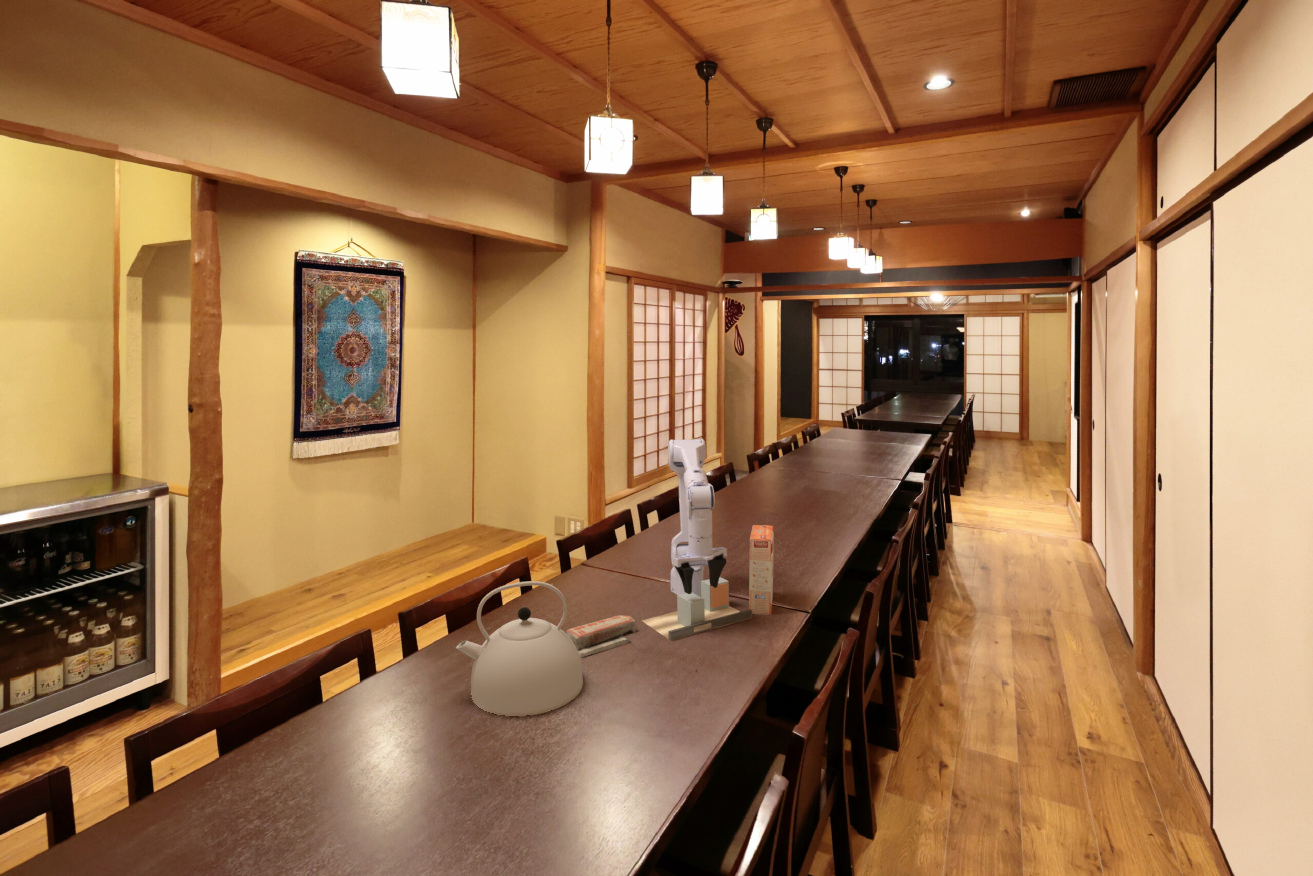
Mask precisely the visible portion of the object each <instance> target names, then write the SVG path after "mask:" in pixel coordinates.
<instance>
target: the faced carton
mask: <svg viewBox="0 0 1313 876" xmlns="http://www.w3.org/2000/svg"><path fill="white" fill-rule="evenodd" d="M729 584H730V581H729V580H727V579H725V578H723V577H721V576H720V578H719V581H718V586H717V587H716V588H714V587H712V586H710V579H703V581H701V598H703V599H704V605H705V609H706V610H708V611H710V612H711V611H715V610H719V609H723V608H727V607H729V606H730V585H729Z"/></svg>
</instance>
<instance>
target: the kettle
mask: <svg viewBox="0 0 1313 876" xmlns="http://www.w3.org/2000/svg"><path fill="white" fill-rule="evenodd" d="M526 586H539V587H544V588H548V589H549V590H551V591H553V592H555V593H556V594H557V596H558V597H559V598H560V599H561V602H562V608H563V613H562V617H561V619H560V621H559V622H558V624H557V625H555V624H553V623H551V622H550V621H548V620H545V619H541V618H535V617H531V616H532V613H531V611H532V610H531V609H529V608H528V607H526V606H524V607H520V609H519V610H518V612H517V617H518V619H513V620H511V621H509V622H507V623H504V624H503V625H502V626H501V627H499V628H497V629H496V630H495V631H493V632H492V633H491V634H490V635H489V633H488V632H487V630H486V629H485V627H484V624H483V623H482V610H483V607H484V605H485V603H486V602H487V600H489V599H490V598H491V597H492V596H494V595H495V594H497V593H500V592H502V591H506V590H509V589H512V588H517V587H526ZM567 617H568V605H567V601H566V598H565V596H564V594H563V593H562V591H561V590H559V589H558V588H557V587H555V586H554V585H552V584H550V583H547V582H543V581H538V580H537V581H534V580H530V581H520V582H515V583H514V582H513V583H510V584H506V585H502V586H499V587H497V588H494V589H493V590H491V591H490V592H489V593H487V594H486V595H485V596H484V597H483V598H482V599H481V601H480V603H479V604H478V607H477V611H476V621H477V625H478V628H479V631H480V632H481V634H482V635H483V636H484V638H485V641H484V642H483V643H482V645H481V644H479V643H475V642H472V641H469V640H462V641H461V642H459V644H458V645H456V646H455V649H457V650H458V651H460V652H461V653H463V654H464V655H466V656H468V657H470V658H471V659H473V660H474V661H473V664H472V668H471V673H470V674H471V677H470V692H471V693H470V698H472V699H471V701H472V700H473V701H472V703H473V702H474V703H475V704H476V705H477V706H478V707H479V708H481V709H483V710H484V712H485V711H487V712H486V713H488V712H490V713H489V714H491V713H494V714H497V715H496V716H500V715H505V716H504V717H509V716H519V717H527V716H526V715H530V716H535V715H540V714H544V713H548V712H551V710H552V711H555V710H557V709H559V708H561V707H563V706H565V705H567V704H570V702H572V701H573V700H574V699H576V697H577V696H578V695H580V692H581V691H582V689H583V686H584V678H583V665H582V661H581V658H580V656H579V653H578V651H577V648H576V646H575V645H574V643H573V641H572V640H571V639H570V637H569V636H568V635H567V634H566V631H564V630H562V629H561V628H562V626H563V625H564V623H565V622H566V619H567ZM471 695H472V697H471ZM571 700H572V701H571ZM474 703H473V704H474ZM475 704H474V705H475ZM476 705H475V706H476ZM477 706H476V707H477ZM478 707H477V708H478ZM479 708H478V709H479ZM481 709H480V710H481ZM483 710H482V711H483ZM494 714H493V715H494Z"/></svg>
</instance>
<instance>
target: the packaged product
mask: <svg viewBox="0 0 1313 876" xmlns="http://www.w3.org/2000/svg"><path fill="white" fill-rule="evenodd" d="M636 628H637V621H636V620H635V619H634V618H633V617H632V616H630V615H622V614H620V615H615V616H611V617H608V618H604V619H600V620H597V621H594V622H590V623H585V624H583V625H578V626H575V627H572V628H568V629H567V630H566V631H565V633H566V634H567V635H568V636H569V637H570V639H571V640H572V641H573V643H574V645H575V646H576V648H577V651H578V653H579V656H580V659H583V658H586V657H588V655H589V656H591V654H592V655H595V654H598V653H601V652H605V651H608V650H611V649H614V648H617V647H620V646H623V645H627V644H630V643H632V641H631V640H629V639H628V638H627V637H626V635H627V636H628V635H630V634H633V633H636V631H637V629H636ZM585 656H586V657H585Z"/></svg>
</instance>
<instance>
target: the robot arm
mask: <svg viewBox="0 0 1313 876" xmlns="http://www.w3.org/2000/svg"><path fill="white" fill-rule="evenodd" d="M667 442H668V445H667V446H668V448H667V454H668V467H669V470H670V471H672V472H675V474H676V476H677V481H678V498H679V500H678V501H679V521H680V523H679V524H680V531H679V532H678V533H677V534H676V535H675V536H674V537H672V539H671V547H670V557H671V565H672V568H671V570H670V592H672V593H674V594H675V595H676V596H677V595H680V594H684V593H687V594H691V593H694V594H696V595H697V596H699V597H701V581H704V570H705V567H706V566H708V572H709V573H708V574H709V577H708V578H709V579H710V586H712V587H714V588H716V587H717V586H718V581H719V578H720V577H721V574H722V572H723V570H724V567H725V566H726V564H727V559H726V558H725V557H728V548H726V547H724V546H720V547H713V510H714V508H715V501H716V499H715V490H714V486H713V485H712V484H711V483H709V481H708V477H707V473H706V471H705V469H703V466H704V465H705V460H706V457H707V447H706V441H705V440H704V438H698V439H697V438H695V439H670V440H668V441H667Z"/></svg>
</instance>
